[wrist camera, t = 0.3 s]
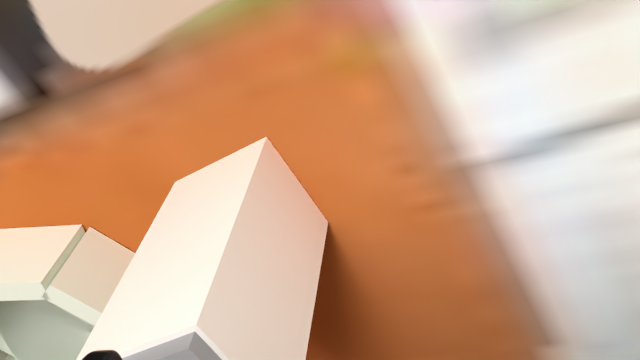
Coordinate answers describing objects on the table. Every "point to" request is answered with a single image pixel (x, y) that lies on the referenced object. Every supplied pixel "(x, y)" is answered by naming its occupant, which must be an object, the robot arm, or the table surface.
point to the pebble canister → (222, 268)
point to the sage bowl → (54, 289)
